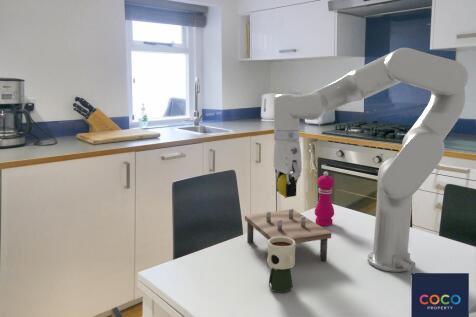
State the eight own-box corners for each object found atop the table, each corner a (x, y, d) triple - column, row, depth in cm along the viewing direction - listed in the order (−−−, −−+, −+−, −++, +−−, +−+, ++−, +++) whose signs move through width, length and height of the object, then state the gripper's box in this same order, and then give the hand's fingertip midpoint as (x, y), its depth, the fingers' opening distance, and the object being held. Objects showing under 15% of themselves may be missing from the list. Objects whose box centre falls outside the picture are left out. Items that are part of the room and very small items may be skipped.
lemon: (284, 194, 134) (284, 169, 133) (298, 197, 131) (299, 172, 129) (273, 198, 131) (273, 172, 129) (287, 201, 127) (287, 175, 125)
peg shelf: (330, 261, 127) (331, 223, 124) (275, 271, 120) (276, 231, 118) (292, 233, 148) (293, 200, 146) (244, 240, 142) (244, 206, 140)
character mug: (258, 281, 114) (259, 236, 112) (281, 276, 117) (282, 232, 115) (279, 301, 105) (280, 251, 102) (303, 294, 108) (305, 246, 105)
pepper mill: (319, 218, 164) (321, 168, 160) (337, 223, 159) (339, 171, 155) (310, 224, 158) (312, 171, 154) (328, 228, 154) (330, 174, 150)
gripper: (312, 138, 120) (311, 199, 124) (284, 131, 136) (284, 185, 140) (289, 140, 118) (288, 202, 121) (263, 132, 133) (263, 188, 137)
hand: (286, 193), depth 130 cm, fingers closed on lemon, 5 cm apart
